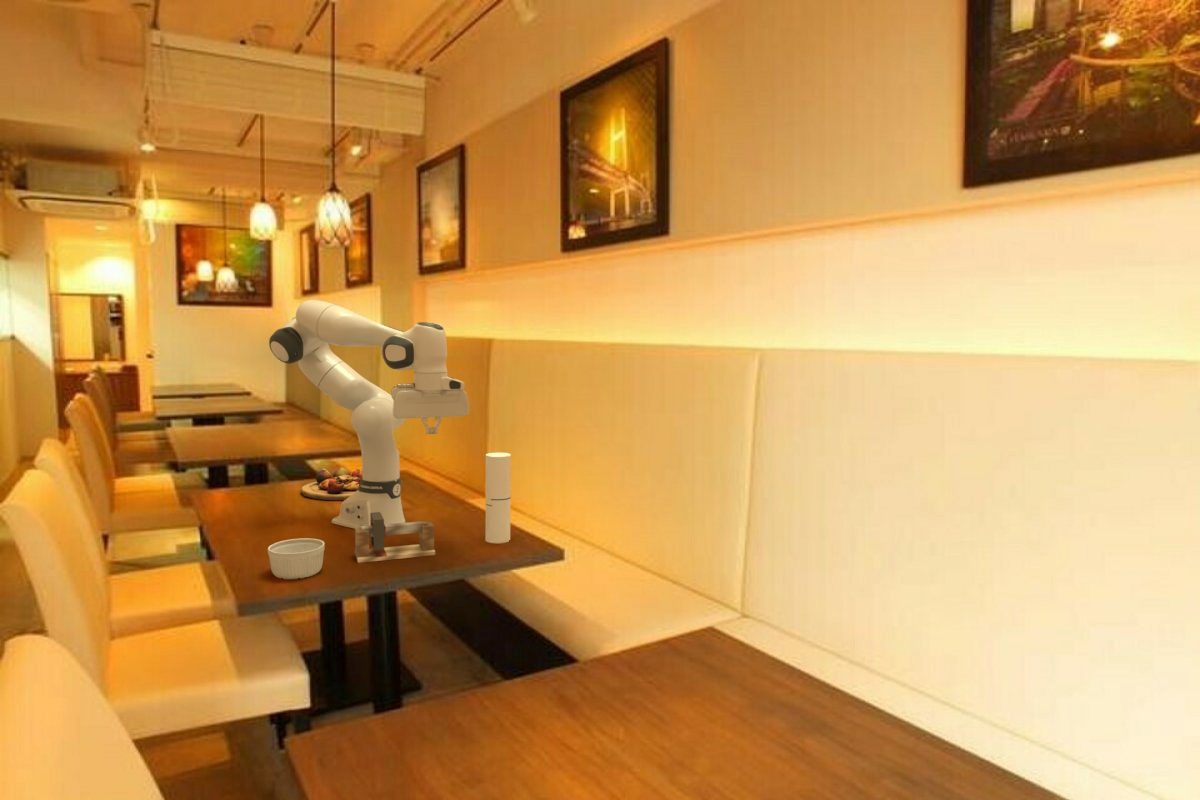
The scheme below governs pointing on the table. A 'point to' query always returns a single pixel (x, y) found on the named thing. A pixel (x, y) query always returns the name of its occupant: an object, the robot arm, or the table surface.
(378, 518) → the collar
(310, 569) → the ramekin
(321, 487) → the wooden plate with food
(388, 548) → the pipe rig
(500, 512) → the cylindrical container
